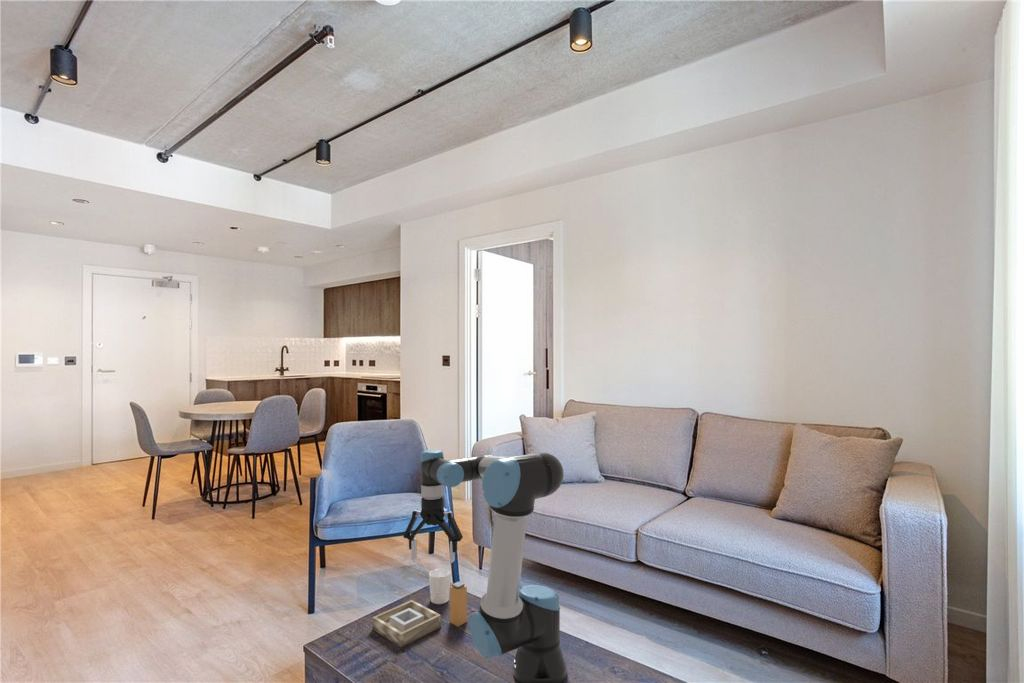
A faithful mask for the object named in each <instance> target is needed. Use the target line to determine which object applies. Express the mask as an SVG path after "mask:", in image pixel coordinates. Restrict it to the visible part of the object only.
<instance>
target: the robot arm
mask: <svg viewBox="0 0 1024 683" xmlns="http://www.w3.org/2000/svg"><path fill="white" fill-rule="evenodd" d="M564 474H565V473H564V468H563V465H562V462H561V461H560V460H559V459H558V458H557V457H556V456H554V455H553V454H550V453H548V452H535V453H529V454H523V455H517V456H495V455H493V454H483V455H477V456H471V457H464V458H457V459H448V460H447V459H445V457H444V452H443V450H441V449H427V450H423V451H422V452H421V456H420V483H421V487H420V493H421V494H420V496H421V499H420V502H421V504H420V506H421V507H420V508H421V509H420V510H419V509H418V508H415V509H414V510H413V511H412V513H411V518H410V520H409V523H408V525H407V527H406V529H405V531H404V534H403V535H402V536H403V538H404V539H407V540H408V549H409V550H411V551H410V552H411V561H415V560H416V559H417V556H418V553H417V551H418V547H417V545H418V544H417V543H418V542H417V539H418V538H417V537H416V536H417V534H418V533H419V532H420V531H421V529H423V527H424V526H425V525H427V526H431V525H432V526H438V527H439V528H441V530H442V531H443V532H444V534H445V535H446V536H447V537H448V539H449V540H450V542H449V563H450V564H453V563H454V562H455V560H456V557H455V556H456V555H455V554H456V552H457V551H458V542H460V541H462V539H463V538H464V537H463V534H462V532H461V529H460V528H459V525H458V523H457V521H456V519H455V517H454V516H455V515H454V511H453V510H449V511H445V507H444V506H445V505H444V504H445V503H444V502H445V498H444V495H445V494H444V486H445V487H447V488H448V487H450V488H455V487H457V486H459V485H460V484H461V483H464V482H465V483H466V482H470V481H476V480H482V483H481V484H482V491H483V497H484V499H485V501H486V503H487V504H488V505H489V508H490V510H491V511H492V512H493V514H494V515H493V516H494V517H493V525H492V526H493V527H492V536H491V546H490V547H491V548H490V558H489V565H488V576H487V586H486V588H487V589H486V592H485V593H484V594H483V595H482V596H481V598H480V602H479V608H478V609H479V610H478V611H474V612H473V613H471V614H470V616H469V622H468V623H469V625H468V627H469V632H470V635H471V638H472V642H473V644H474V645H475V648H476V649H477V651H478V652H479V654H480V655H481V656H482V657H484V658H485V659H489V660H491V659H494V658H497V657H502V656H503V655H505V654H507V653H510V652H511V651H514V650H516V649H517V650H516V653H515V657H514V660H513V663H512V664H513V665H512V673H513V677H514V678H515V679H516V681H517V682H518V683H562V682H564V681H565V680H566V676H567V663H566V659H565V658H564V655H563V652H562V651H563V650H562V648H561V642H560V641H561V637H560V636H561V630H560V629H561V628H560V624H561V622H560V618H561V615H560V613H561V612H560V611H561V607H560V598H559V595H558V593H557V592H556V591H555V590H554V589H552V588H551V587H548V586H544V585H539V584H528V585H527V584H526V585H523V586H521V587H520V585H521V577H522V565H523V557H524V547H525V537H526V528H527V521H528V520H527V519H528V517H529V516H530V515H532V514H533V512H534V508H535V500H536V499H541V498H545V497H548V496H551V495H553V494H554V493H555V492H556V491H558V489H560V487H561V485H562V483H563V481H564ZM418 517H421V518H422V520H421V522H420V523H419V524H418V525H417V526H416V528H414V526H415V523H416V522H417V520H418ZM444 518H446V519H447V520H448V523H449V525H450V527H449V525H448V524H447V522H446V520H445V519H444ZM413 528H414V530H413ZM412 530H413V532H412ZM411 532H412V533H411Z"/></svg>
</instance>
